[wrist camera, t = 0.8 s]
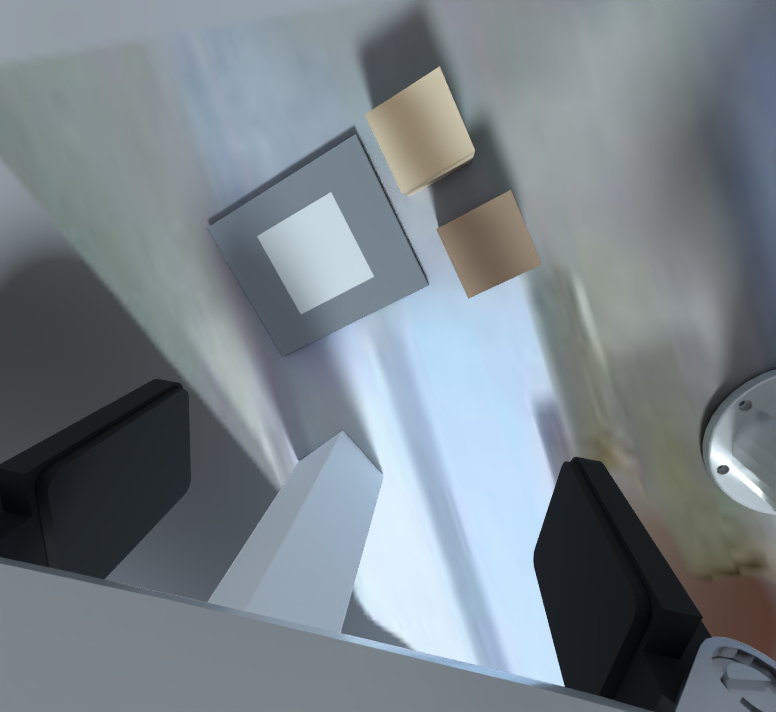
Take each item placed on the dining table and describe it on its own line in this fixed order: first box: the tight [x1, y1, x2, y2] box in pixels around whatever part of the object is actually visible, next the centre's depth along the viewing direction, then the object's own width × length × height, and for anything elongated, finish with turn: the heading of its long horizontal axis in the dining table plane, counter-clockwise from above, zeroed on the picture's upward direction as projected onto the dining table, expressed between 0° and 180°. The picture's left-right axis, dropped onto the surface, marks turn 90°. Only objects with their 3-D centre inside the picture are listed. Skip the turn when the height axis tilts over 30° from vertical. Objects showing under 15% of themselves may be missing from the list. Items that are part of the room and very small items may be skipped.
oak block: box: [365, 67, 475, 197], centre depth 27 cm, size 5×5×5 cm
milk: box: [207, 431, 383, 633], centre depth 29 cm, size 6×6×22 cm
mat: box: [207, 134, 429, 357], centre depth 33 cm, size 14×12×1 cm
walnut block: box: [437, 190, 542, 299], centre depth 29 cm, size 5×5×5 cm
